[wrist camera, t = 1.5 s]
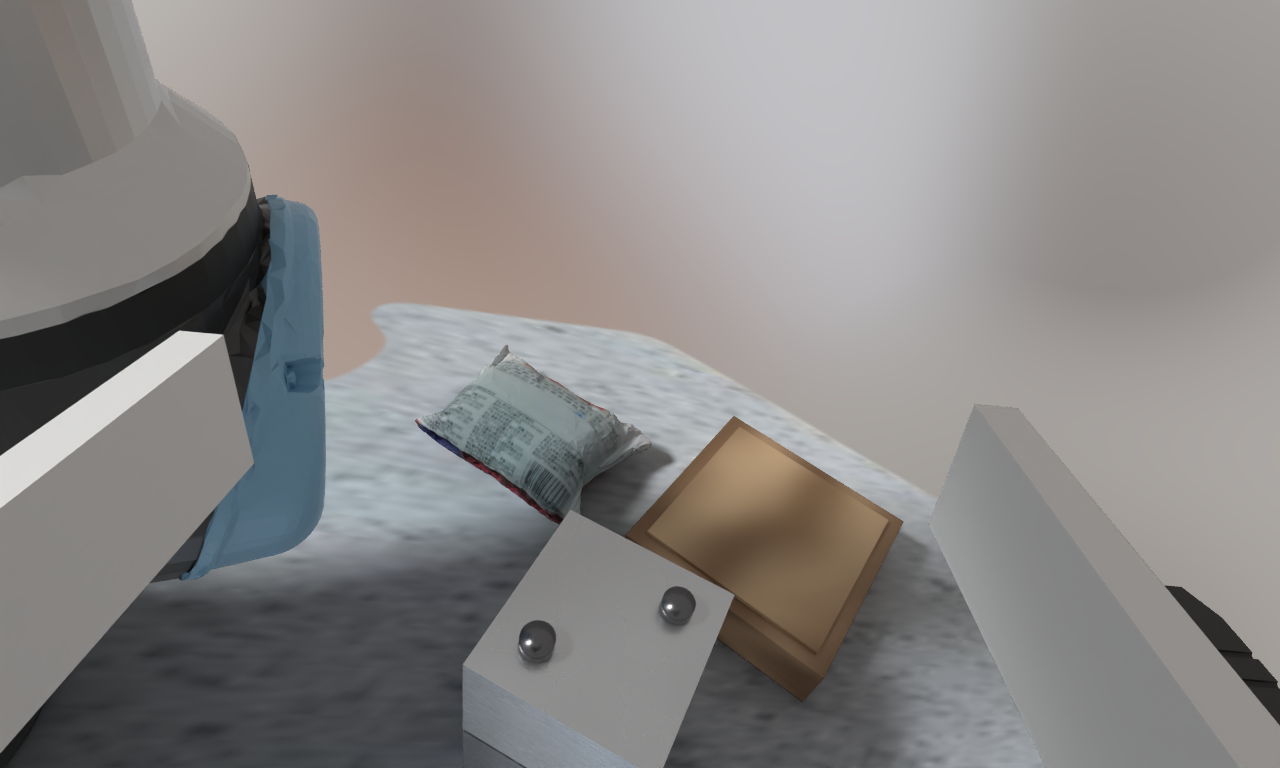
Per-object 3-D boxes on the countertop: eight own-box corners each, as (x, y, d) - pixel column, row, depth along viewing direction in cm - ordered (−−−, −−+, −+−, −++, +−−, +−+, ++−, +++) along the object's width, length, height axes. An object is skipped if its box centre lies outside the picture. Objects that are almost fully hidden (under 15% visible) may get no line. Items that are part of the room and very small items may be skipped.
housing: (462, 778, 31) (462, 656, 22) (544, 644, 35) (572, 500, 27) (602, 866, 29) (662, 773, 20) (668, 713, 34) (738, 586, 25)
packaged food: (506, 373, 48) (509, 320, 45) (647, 462, 45) (661, 412, 42) (413, 447, 43) (408, 393, 39) (566, 555, 40) (575, 506, 36)
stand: (617, 563, 39) (626, 531, 37) (721, 445, 47) (734, 413, 45) (802, 701, 36) (825, 676, 33) (882, 548, 43) (905, 519, 41)
